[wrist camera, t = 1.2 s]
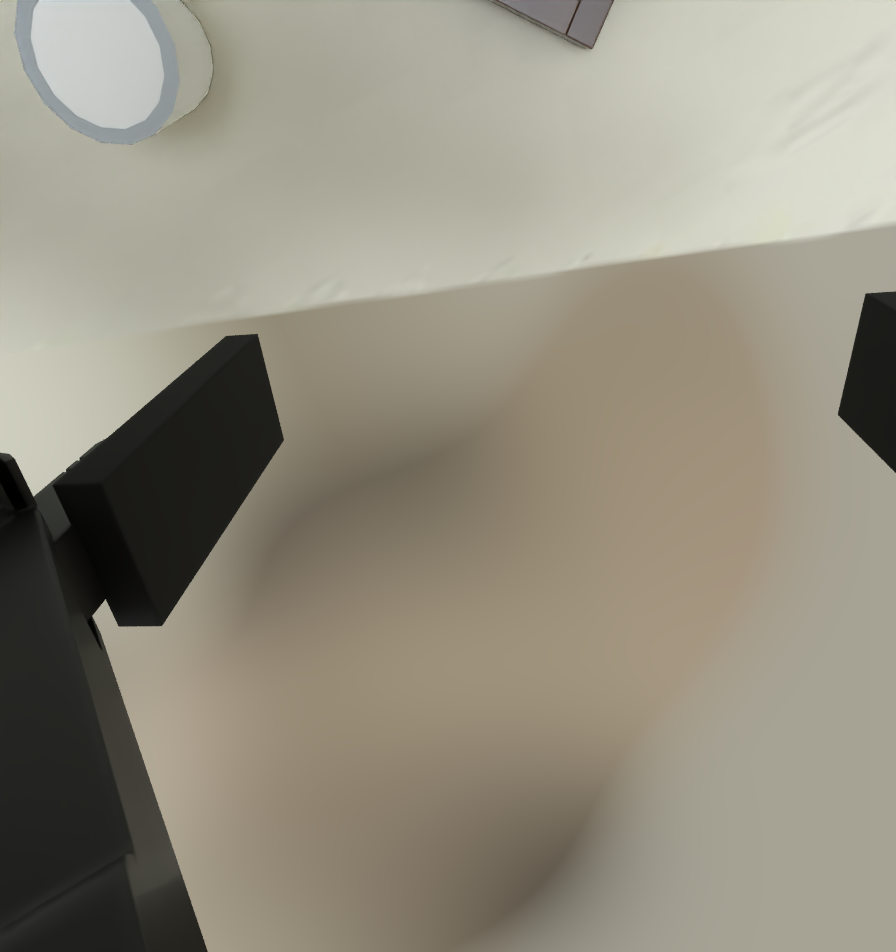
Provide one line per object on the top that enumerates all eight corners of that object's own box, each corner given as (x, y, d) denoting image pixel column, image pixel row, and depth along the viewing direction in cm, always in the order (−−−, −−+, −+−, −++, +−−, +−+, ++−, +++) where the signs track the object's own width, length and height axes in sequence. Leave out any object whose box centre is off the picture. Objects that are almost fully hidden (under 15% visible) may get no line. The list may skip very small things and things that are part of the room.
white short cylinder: (198, -41, 32) (141, -60, 26) (242, 118, 35) (201, 133, 30) (65, -16, 32) (-20, -30, 26) (122, 138, 36) (59, 156, 30)
